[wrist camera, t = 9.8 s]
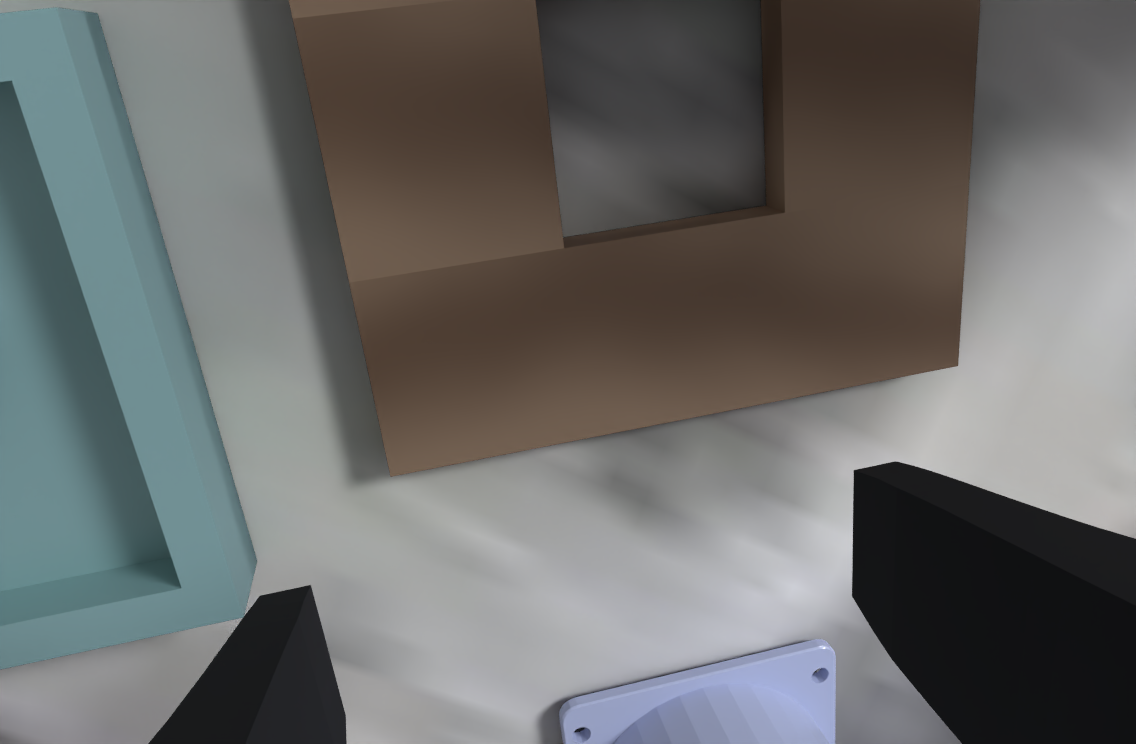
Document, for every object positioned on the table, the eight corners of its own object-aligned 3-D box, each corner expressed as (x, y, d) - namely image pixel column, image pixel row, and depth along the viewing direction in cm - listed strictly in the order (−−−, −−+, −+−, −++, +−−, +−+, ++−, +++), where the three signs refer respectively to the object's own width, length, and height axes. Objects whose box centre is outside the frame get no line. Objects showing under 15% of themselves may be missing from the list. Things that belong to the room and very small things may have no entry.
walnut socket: (934, 353, 22) (957, 365, 21) (389, 457, 20) (390, 476, 19) (966, -306, 17) (1000, -326, 16) (237, -259, 15) (228, -279, 14)
